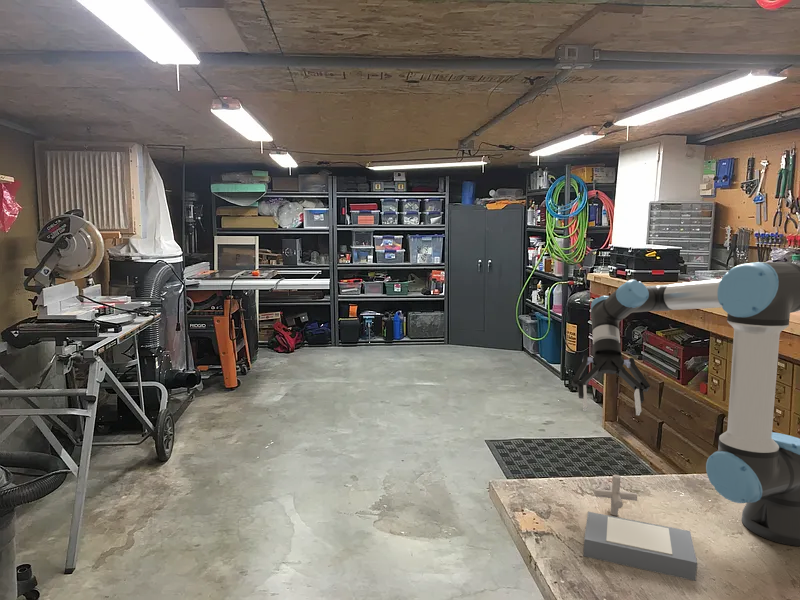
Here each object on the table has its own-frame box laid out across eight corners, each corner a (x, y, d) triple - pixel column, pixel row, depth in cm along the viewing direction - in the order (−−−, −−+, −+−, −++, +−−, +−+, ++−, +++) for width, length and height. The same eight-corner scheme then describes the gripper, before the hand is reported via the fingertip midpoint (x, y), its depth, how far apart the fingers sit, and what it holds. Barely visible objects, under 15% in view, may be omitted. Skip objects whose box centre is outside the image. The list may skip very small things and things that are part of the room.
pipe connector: (639, 526, 134) (642, 487, 133) (596, 521, 136) (598, 483, 135) (630, 506, 144) (633, 469, 143) (590, 502, 146) (593, 466, 145)
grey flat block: (688, 547, 125) (690, 530, 125) (695, 580, 114) (697, 561, 113) (587, 527, 134) (588, 510, 133) (583, 556, 122) (584, 538, 121)
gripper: (649, 353, 161) (658, 421, 148) (560, 348, 166) (562, 413, 153) (655, 339, 155) (665, 408, 142) (563, 334, 160) (564, 400, 147)
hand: (611, 411), depth 148 cm, fingers open, 13 cm apart
